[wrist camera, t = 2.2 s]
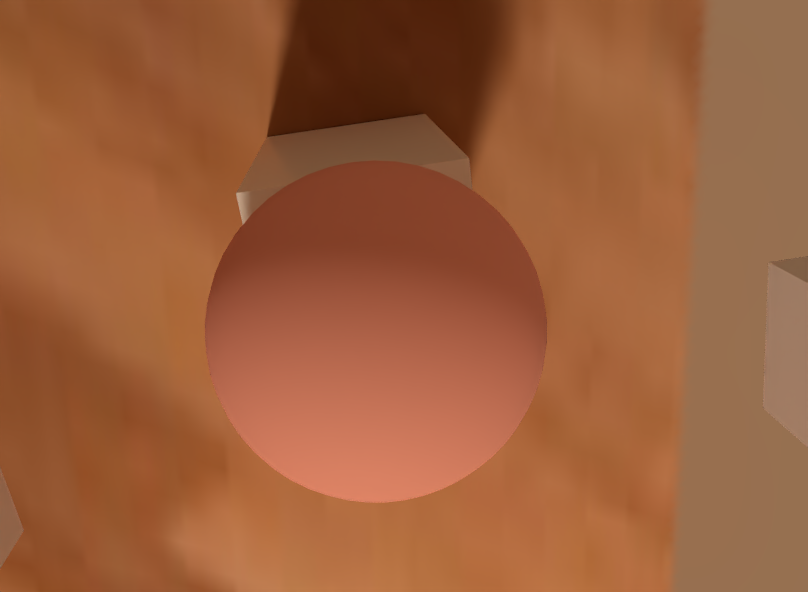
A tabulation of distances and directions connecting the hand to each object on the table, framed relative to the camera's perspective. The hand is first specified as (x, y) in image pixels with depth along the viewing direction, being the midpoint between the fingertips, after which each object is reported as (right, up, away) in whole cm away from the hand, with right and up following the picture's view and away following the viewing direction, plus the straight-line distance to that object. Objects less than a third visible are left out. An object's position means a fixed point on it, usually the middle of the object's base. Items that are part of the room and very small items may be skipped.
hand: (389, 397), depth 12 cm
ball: (0, +1, +2) cm, 2 cm away
